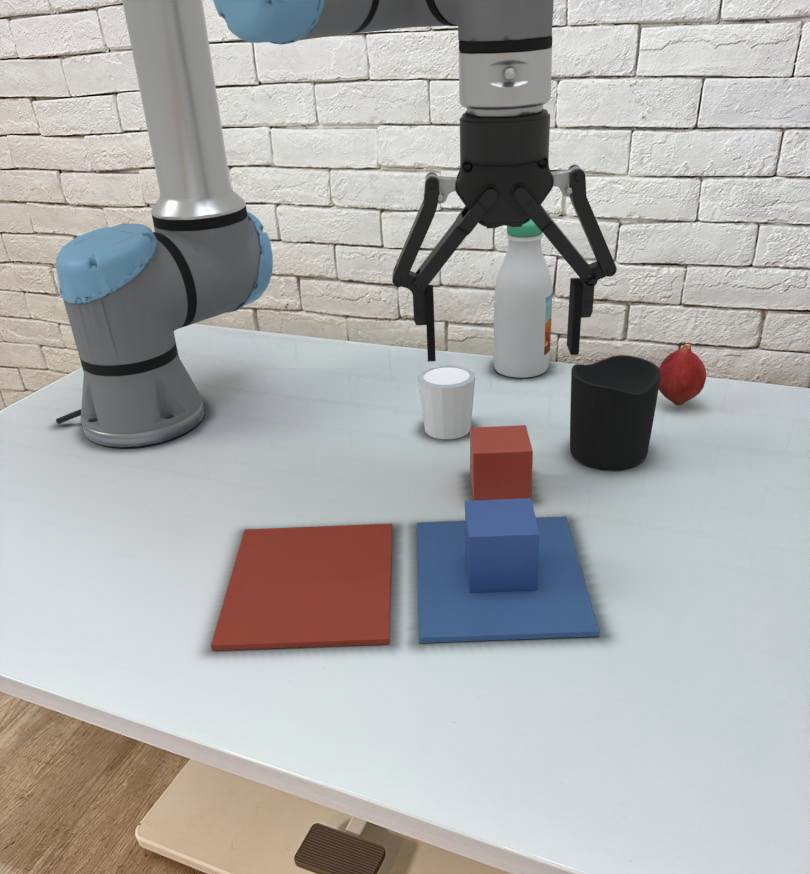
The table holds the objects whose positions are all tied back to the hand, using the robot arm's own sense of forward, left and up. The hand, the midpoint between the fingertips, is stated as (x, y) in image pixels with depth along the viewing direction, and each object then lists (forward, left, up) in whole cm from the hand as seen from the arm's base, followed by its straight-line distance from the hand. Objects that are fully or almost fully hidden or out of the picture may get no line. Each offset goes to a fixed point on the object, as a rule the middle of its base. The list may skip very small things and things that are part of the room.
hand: (501, 353), depth 82 cm
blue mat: (-1, -15, -16) cm, 22 cm away
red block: (0, +1, -16) cm, 16 cm away
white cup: (-5, +16, -16) cm, 23 cm away
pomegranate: (+24, +20, -16) cm, 35 cm away
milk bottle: (+6, +34, -16) cm, 38 cm away
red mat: (-19, -15, -16) cm, 29 cm away
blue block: (-1, -15, -15) cm, 21 cm away
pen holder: (+13, +8, -16) cm, 22 cm away
